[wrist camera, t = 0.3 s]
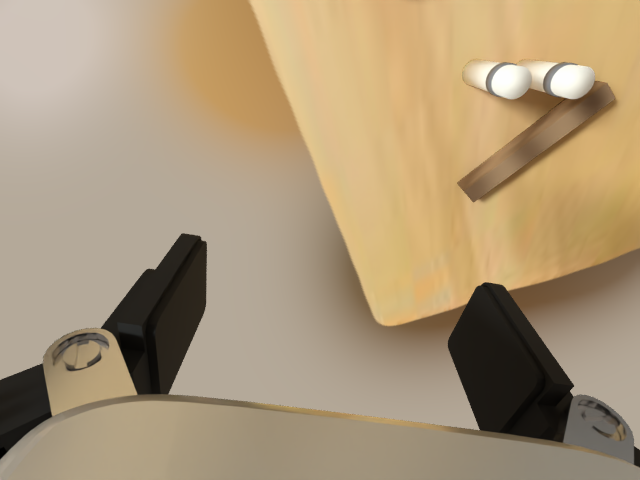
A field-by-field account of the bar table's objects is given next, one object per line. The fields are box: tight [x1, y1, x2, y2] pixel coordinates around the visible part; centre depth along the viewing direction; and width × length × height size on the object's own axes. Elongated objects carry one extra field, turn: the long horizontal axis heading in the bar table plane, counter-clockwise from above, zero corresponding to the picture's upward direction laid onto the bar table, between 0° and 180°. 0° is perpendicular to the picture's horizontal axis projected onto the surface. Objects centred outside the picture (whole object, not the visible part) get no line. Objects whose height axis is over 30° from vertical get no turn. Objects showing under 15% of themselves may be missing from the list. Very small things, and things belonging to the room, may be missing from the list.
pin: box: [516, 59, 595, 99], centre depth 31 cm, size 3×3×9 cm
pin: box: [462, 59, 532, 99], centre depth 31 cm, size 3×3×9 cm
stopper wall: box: [457, 81, 615, 202], centre depth 37 cm, size 16×2×2 cm, turn 135°
